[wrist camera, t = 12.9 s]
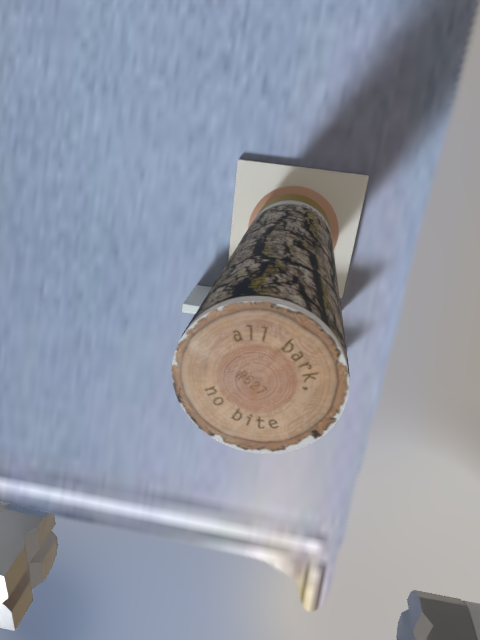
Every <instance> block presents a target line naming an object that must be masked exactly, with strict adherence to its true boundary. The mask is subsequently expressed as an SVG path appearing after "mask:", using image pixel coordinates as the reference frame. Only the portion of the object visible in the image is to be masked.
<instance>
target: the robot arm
mask: <svg viewBox="0 0 480 640" xmlns="http://www.w3.org/2000/svg"><path fill="white" fill-rule="evenodd" d="M55 524H56V523H55V517H54V514H52V513H48V512H44V511H40V510H35V509H31V508H27V507H22V506H18V505H14V504H10V503H6V502H1V501H0V628H4V629H9V630H14V631H15V630H16V628H17V626H18V625H19V623H20V621H21V620H22V618H23V616H24V615H25V613H26V611H27V610H28V608H29V606H30V605H31V603H32V601H33V593H32V589H33V588H34V587H36V586H37V585H39V584H40V583H42V582H43V581H44V580H45V579H46V577H47V575H48V574H49V572H50V570H51V568H52V565H53V563H54V560H55V557H56V554H57V547H58V542H57V537H56V535H55V534H54V533H53V532H52V531H51V530H52V529H53V527H54V526H55ZM407 601H408V606H409V609H408V610H406V611H404V612H402V613H401V616H400V619H399V622H398V628H397V640H480V604H478V603H473V602H467V601H462V600H461V599H457V598H452V597H446V596H442V595H436V594H432V593H426V592H421V591H416V590H414V591H412V592H411V593H410V595H409V597H408V599H407Z"/></svg>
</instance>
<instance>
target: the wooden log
mask: <svg viewBox="0 0 480 640" xmlns="http://www.w3.org/2000/svg"><path fill="white" fill-rule="evenodd" d="M172 380H173V386H174V389H175V393H176V396H177V398H178V401H179V403H180V404H181V406H182V408H183V410H184V411H185V413H186V414H187V415H188V417H189V418H190V419H191V420H192V422H193V423H194V424H195V425H196V426H197V427H198V428H200V429H201V430H202V431H203V432H204V433H206V434H207V435H209V436H210V437H211V438H213V439H215V440H217V441H218V442H220V443H222V444H224V445H227V446H229V447H232V448H234V449H238V450H241V451H246V452H250V453H258V454H277V453H285V452H289V451H294V450H297V449H300V448H303V447H305V446H307V445H309V444H311V443H313V442H315V441H317V440H318V439H319V438H321V437H322V436H324V435H325V434H326V433H327V432H328V431H329V430H330V429H331V428H332V427H333V426H334V425H335V423H336V422H337V421H338V419H339V418H340V416H341V414H342V413H343V410H344V408H345V406H346V402H347V399H348V394H349V366H348V358H347V350H346V343H345V335H344V327H343V319H342V312H341V304H340V296H339V288H338V281H337V273H336V265H335V257H334V250H333V242H332V235H331V229H330V223H329V220H328V217H327V215H326V213H325V211H324V210H323V209H322V207H321V206H320V205H319V204H318V203H316V202H315V201H314V200H312V199H310V198H308V197H306V196H303V195H298V194H286V195H282V196H278V197H276V198H274V199H272V200H270V201H269V202H268V203H266V204H265V205H264V206H263V207H262V208H261V210H260V211H259V213H258V214H257V216H256V217H255V219H254V220H253V222H252V223H251V225H250V227H249V228H248V230H247V231H246V233H245V235H244V236H243V238H242V239H241V241H240V243H239V244H238V246H237V248H236V249H235V251H234V252H233V254H232V256H231V257H230V259H229V260H228V262H227V264H226V265H225V267H224V269H223V270H222V272H221V273H220V275H219V277H218V278H217V280H216V281H215V283H214V285H213V286H212V288H211V289H210V291H209V293H208V294H207V296H206V298H205V299H204V301H203V302H202V304H201V306H200V307H199V309H198V310H197V312H196V314H195V315H194V317H193V318H192V320H191V322H190V323H189V325H188V327H187V328H186V330H185V331H184V333H183V335H182V337H181V339H180V341H179V343H178V345H177V348H176V351H175V354H174V358H173V363H172Z"/></svg>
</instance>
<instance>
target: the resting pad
mask: <svg viewBox="0 0 480 640" xmlns="http://www.w3.org/2000/svg"><path fill="white" fill-rule="evenodd" d="M368 179H369V175H362V174H354V173H346V172H338V171H330V170H322V169H314V168H306V167H299V166H291V165H283V164H275V163H267V162H259V161H251V160H243V159H238V165H237V176H236V186H235V197H234V207H233V218H232V228H231V238H230V249H229V259H230V257H231V256H232V254H233V252H234V251H235V249H236V248H237V246H238V244H239V243H240V241H241V239H242V238H243V236H244V235H245V233H246V231H247V230H248V228H249V227H250V225H251V223H252V222H253V220H254V219H255V217H256V216H257V214H258V213H259V211H260V210H261V208H262V207H263V206H264V205H265V204H266V203H268V202H269V201H270V200H272V199H274V198H276V197H278V196H282V195H286V194H298V195H303V196H306V197H308V198H310V199H312V200H314V201H315V202H316V203H318V204H319V205H320V206H321V207H322V209H323V210H324V211H325V213H326V215H327V217H328V220H329V223H330V229H331V235H332V242H333V250H334V257H335V265H336V273H337V281H338V288H339V296H340V298H341V299H342V297H343V293H344V288H345V284H346V279H347V274H348V270H349V265H350V261H351V256H352V252H353V247H354V243H355V238H356V233H357V229H358V224H359V220H360V215H361V211H362V206H363V201H364V197H365V192H366V188H367V183H368ZM229 259H228V260H229Z"/></svg>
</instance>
